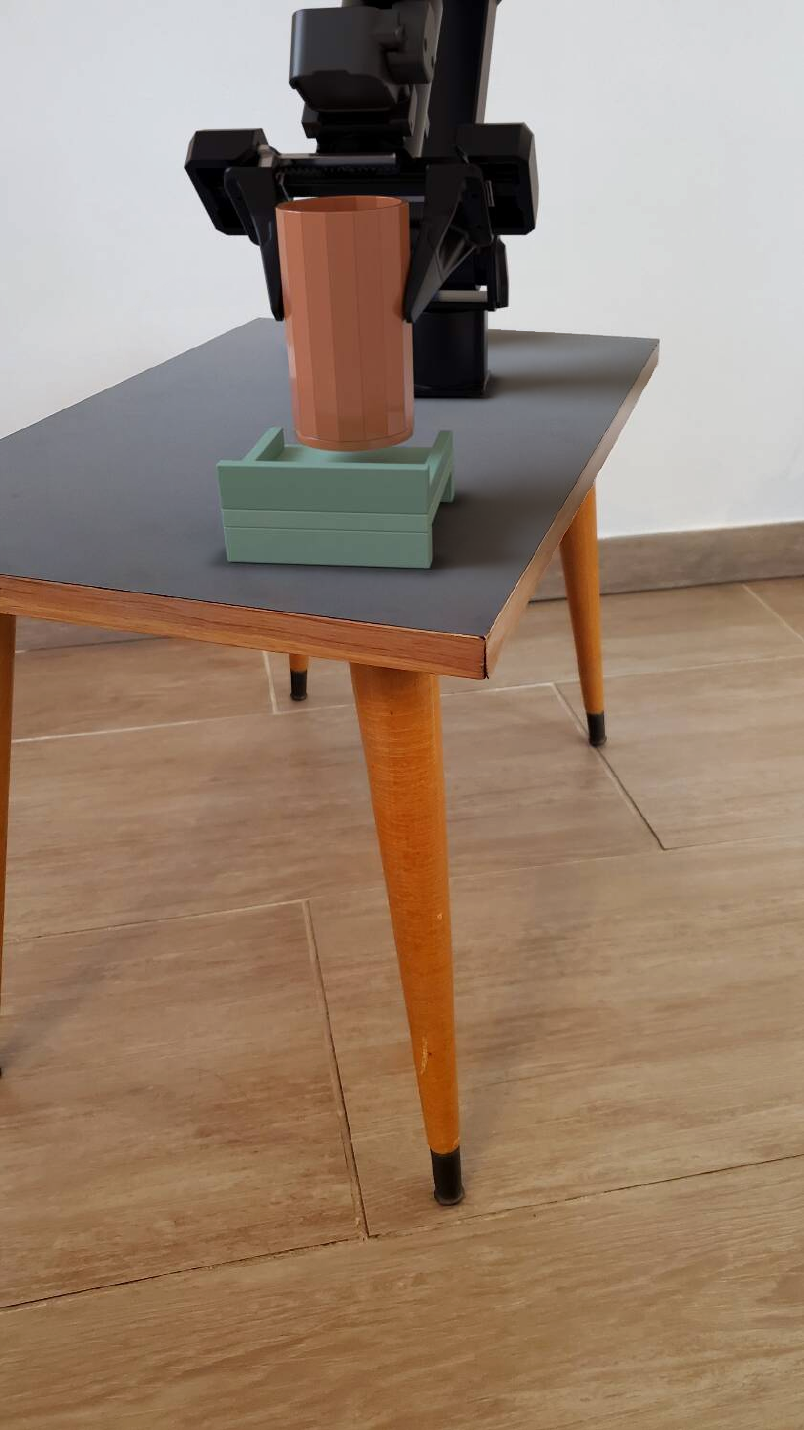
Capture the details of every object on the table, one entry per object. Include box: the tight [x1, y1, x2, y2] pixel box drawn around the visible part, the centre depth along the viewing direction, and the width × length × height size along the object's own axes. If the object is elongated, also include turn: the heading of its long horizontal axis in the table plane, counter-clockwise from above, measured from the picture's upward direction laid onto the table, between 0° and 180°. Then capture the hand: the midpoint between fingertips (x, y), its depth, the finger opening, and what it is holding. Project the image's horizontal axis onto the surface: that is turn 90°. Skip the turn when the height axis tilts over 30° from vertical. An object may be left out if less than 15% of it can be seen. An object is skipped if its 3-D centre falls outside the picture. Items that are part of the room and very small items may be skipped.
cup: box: [276, 195, 416, 452], centre depth 60 cm, size 7×7×12 cm
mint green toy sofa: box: [215, 427, 455, 569], centre depth 62 cm, size 11×11×5 cm
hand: (341, 318), depth 59 cm, fingers closed on cup, 7 cm apart
